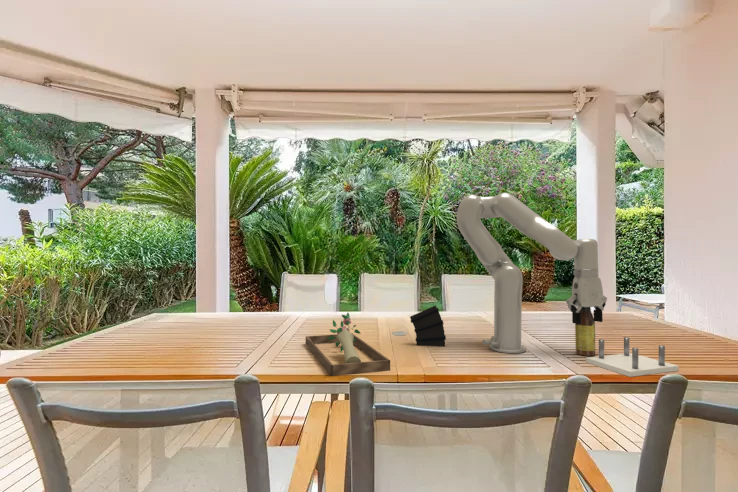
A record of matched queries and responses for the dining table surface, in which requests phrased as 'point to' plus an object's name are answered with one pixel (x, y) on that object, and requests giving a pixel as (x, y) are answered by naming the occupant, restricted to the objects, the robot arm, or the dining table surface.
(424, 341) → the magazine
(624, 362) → the standoff base
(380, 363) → the wooden frame
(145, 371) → the dining table surface
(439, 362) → the dining table surface
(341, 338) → the flower vase
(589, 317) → the sauce bottle
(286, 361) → the dining table surface
